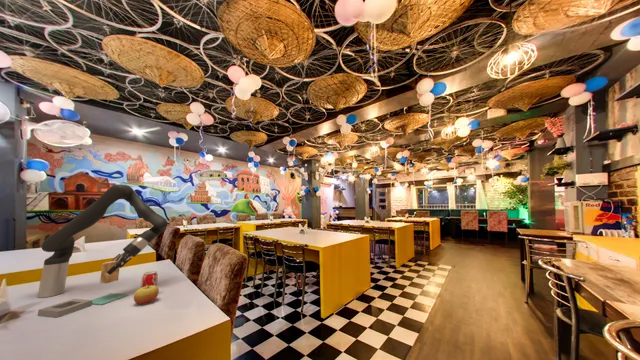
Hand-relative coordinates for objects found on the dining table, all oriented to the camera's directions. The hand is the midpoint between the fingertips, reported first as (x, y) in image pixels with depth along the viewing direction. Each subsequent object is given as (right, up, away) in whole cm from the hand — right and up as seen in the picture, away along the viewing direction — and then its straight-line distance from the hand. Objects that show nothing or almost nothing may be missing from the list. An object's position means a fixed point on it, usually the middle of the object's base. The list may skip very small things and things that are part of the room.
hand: (106, 272), depth 111 cm
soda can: (+19, -15, +4) cm, 24 cm away
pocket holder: (-6, -12, -12) cm, 19 cm away
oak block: (+1, -5, +1) cm, 5 cm away
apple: (+26, -13, -5) cm, 29 cm away
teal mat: (+1, -14, -1) cm, 14 cm away
